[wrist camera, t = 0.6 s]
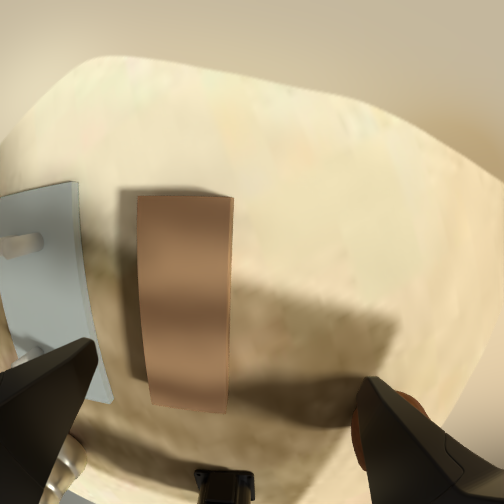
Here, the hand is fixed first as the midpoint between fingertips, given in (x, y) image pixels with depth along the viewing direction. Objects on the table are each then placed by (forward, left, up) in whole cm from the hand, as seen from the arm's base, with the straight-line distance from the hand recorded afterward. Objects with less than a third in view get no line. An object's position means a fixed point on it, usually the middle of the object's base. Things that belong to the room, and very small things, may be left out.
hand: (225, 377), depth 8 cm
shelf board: (-2, +4, -13) cm, 14 cm away
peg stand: (-2, +19, -12) cm, 23 cm away
